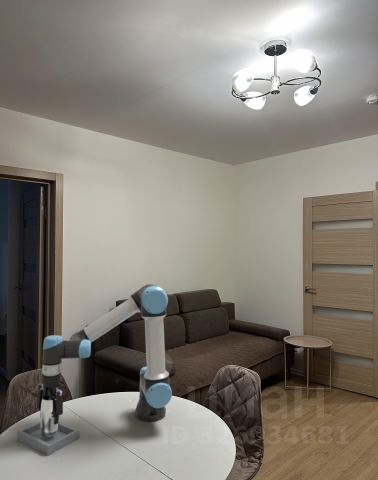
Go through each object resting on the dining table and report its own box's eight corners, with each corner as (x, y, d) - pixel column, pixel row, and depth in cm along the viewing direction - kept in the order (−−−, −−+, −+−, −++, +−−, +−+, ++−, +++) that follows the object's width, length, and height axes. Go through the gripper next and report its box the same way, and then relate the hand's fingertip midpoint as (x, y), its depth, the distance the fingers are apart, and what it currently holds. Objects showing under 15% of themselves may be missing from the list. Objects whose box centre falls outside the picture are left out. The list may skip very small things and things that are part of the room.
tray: (78, 438, 146) (78, 430, 146) (47, 455, 133) (48, 446, 134) (48, 425, 157) (48, 417, 157) (17, 440, 144) (17, 431, 144)
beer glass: (51, 438, 141) (52, 401, 142) (36, 436, 143) (37, 399, 143) (60, 430, 148) (62, 394, 149) (46, 428, 149) (47, 393, 150)
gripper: (29, 371, 148) (26, 426, 147) (59, 380, 138) (56, 439, 137) (44, 366, 155) (42, 419, 154) (74, 375, 145) (71, 431, 143)
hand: (48, 428), depth 145 cm, fingers closed on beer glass, 6 cm apart
